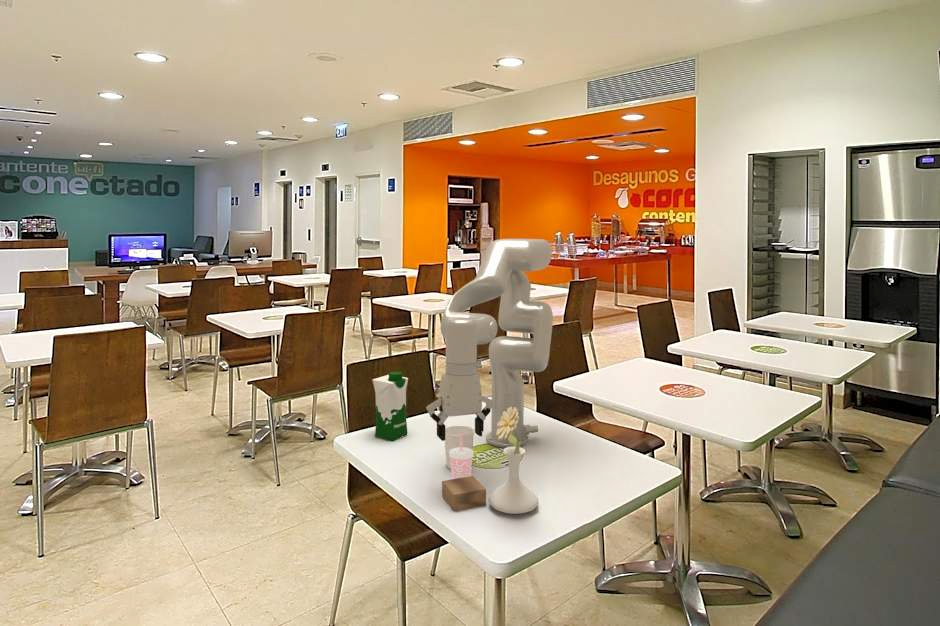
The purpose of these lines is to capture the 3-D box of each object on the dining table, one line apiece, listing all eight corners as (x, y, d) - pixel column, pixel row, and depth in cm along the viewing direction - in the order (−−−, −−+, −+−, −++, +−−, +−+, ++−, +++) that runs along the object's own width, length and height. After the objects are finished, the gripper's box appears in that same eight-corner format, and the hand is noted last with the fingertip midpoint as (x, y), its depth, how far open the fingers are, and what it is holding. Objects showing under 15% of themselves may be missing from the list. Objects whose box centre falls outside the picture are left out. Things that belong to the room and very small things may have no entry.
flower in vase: (490, 495, 153) (491, 395, 149) (537, 497, 152) (540, 396, 148) (486, 521, 140) (487, 412, 136) (538, 523, 139) (541, 414, 135)
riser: (473, 491, 155) (473, 475, 154) (485, 505, 148) (486, 489, 147) (442, 496, 152) (442, 480, 151) (453, 511, 145) (453, 494, 144)
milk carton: (392, 443, 187) (391, 377, 184) (370, 436, 192) (368, 372, 189) (411, 434, 194) (411, 371, 191) (390, 428, 199) (388, 366, 196)
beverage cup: (445, 488, 156) (445, 434, 154) (454, 479, 162) (454, 426, 160) (468, 492, 154) (468, 437, 152) (477, 482, 160) (477, 429, 158)
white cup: (452, 473, 165) (452, 437, 164) (439, 463, 172) (439, 428, 171) (478, 468, 169) (479, 432, 167) (465, 458, 176) (465, 423, 174)
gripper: (487, 363, 160) (486, 428, 162) (422, 367, 153) (421, 436, 156) (500, 369, 153) (498, 437, 155) (432, 374, 146) (431, 446, 149)
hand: (460, 436), depth 155 cm, fingers open, 9 cm apart
